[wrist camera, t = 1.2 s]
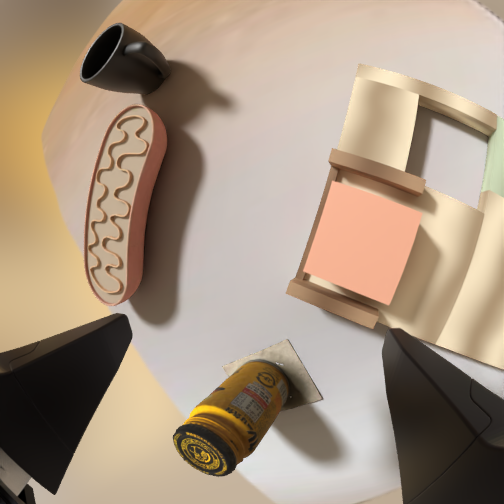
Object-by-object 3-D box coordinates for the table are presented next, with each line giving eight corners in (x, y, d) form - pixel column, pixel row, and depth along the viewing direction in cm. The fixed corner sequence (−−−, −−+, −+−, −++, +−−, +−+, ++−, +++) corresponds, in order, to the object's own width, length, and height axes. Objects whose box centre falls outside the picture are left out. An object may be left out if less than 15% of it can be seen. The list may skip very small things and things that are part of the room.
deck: (553, 164, 11) (563, 160, 10) (497, 361, 16) (504, 370, 14) (360, 74, 19) (358, 63, 18) (299, 282, 24) (293, 287, 22)
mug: (179, 111, 27) (117, 83, 19) (124, 100, 31) (72, 82, 23) (208, 52, 25) (156, 13, 17) (148, 52, 29) (100, 27, 21)
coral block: (412, 215, 18) (422, 213, 14) (385, 291, 19) (389, 305, 15) (339, 189, 20) (332, 180, 16) (315, 263, 21) (302, 271, 17)
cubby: (421, 184, 17) (426, 180, 15) (372, 320, 19) (373, 329, 18) (335, 155, 19) (332, 148, 18) (293, 287, 22) (285, 293, 20)
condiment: (222, 365, 28) (148, 423, 17) (287, 338, 25) (224, 410, 14) (256, 416, 27) (199, 486, 16) (322, 397, 24) (283, 486, 13)
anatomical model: (154, 309, 31) (124, 319, 27) (107, 280, 35) (79, 285, 31) (193, 116, 27) (163, 101, 22) (137, 116, 31) (108, 107, 26)
